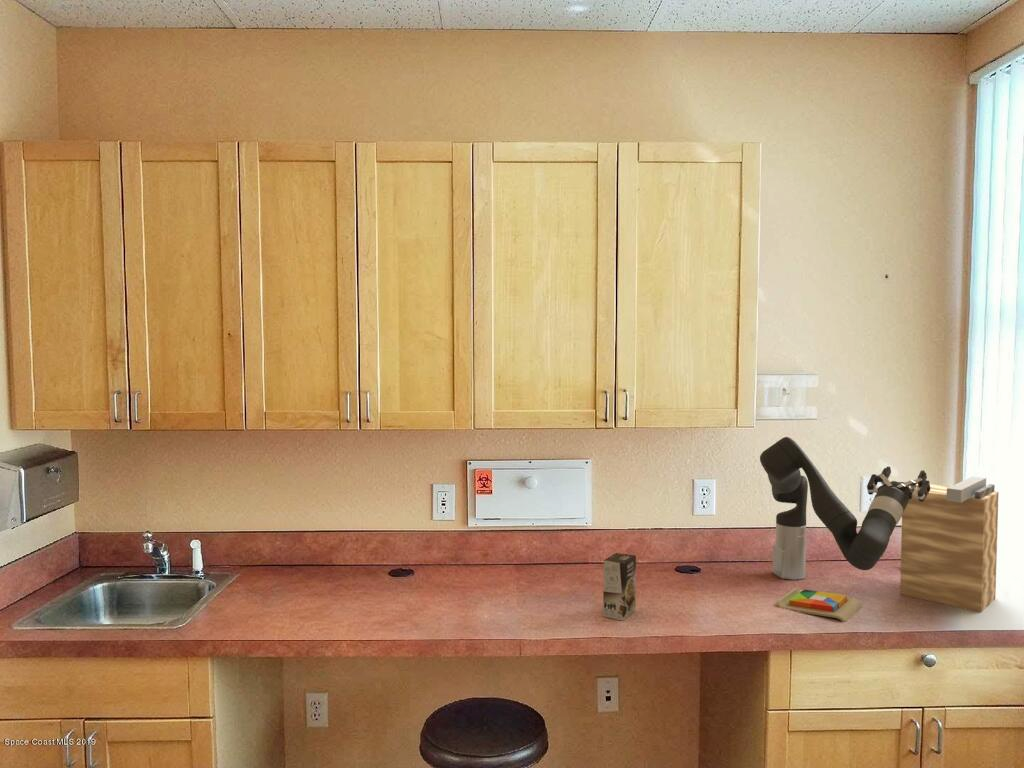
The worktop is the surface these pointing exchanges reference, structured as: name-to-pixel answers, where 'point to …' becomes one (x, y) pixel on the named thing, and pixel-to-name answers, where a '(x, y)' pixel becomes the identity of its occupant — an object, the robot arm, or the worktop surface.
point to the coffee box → (619, 586)
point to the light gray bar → (965, 489)
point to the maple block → (950, 548)
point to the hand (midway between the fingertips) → (906, 470)
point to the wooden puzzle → (820, 603)
